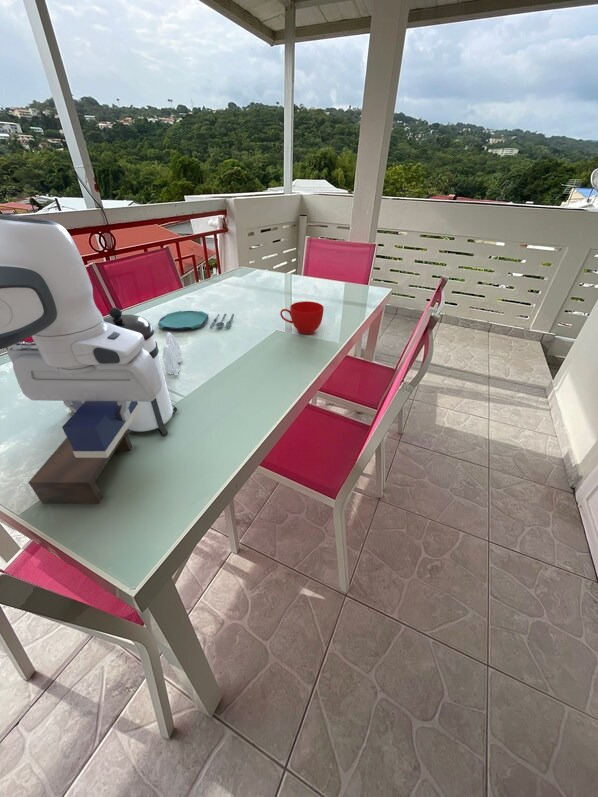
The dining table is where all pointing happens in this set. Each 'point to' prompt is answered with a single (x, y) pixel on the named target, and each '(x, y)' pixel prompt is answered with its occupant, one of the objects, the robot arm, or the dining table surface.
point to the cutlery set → (189, 320)
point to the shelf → (72, 475)
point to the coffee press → (160, 407)
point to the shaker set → (171, 355)
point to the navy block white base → (97, 428)
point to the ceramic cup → (305, 316)
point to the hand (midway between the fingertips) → (106, 418)
